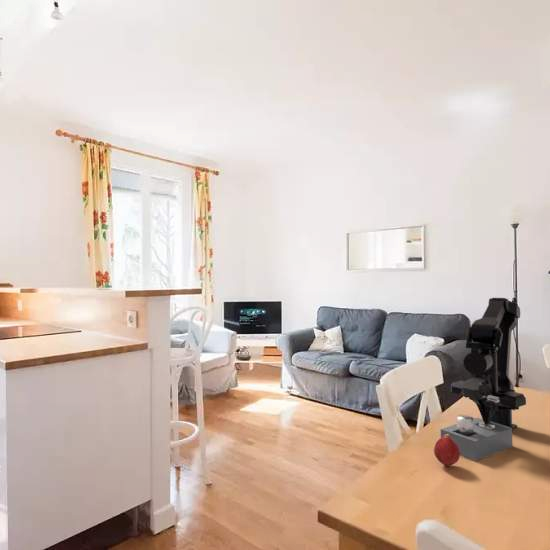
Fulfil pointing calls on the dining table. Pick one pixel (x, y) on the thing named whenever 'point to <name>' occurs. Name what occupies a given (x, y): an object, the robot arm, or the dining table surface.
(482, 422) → the peg
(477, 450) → the socket block
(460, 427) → the peg
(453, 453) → the onion
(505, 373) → the robot arm
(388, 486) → the dining table surface
